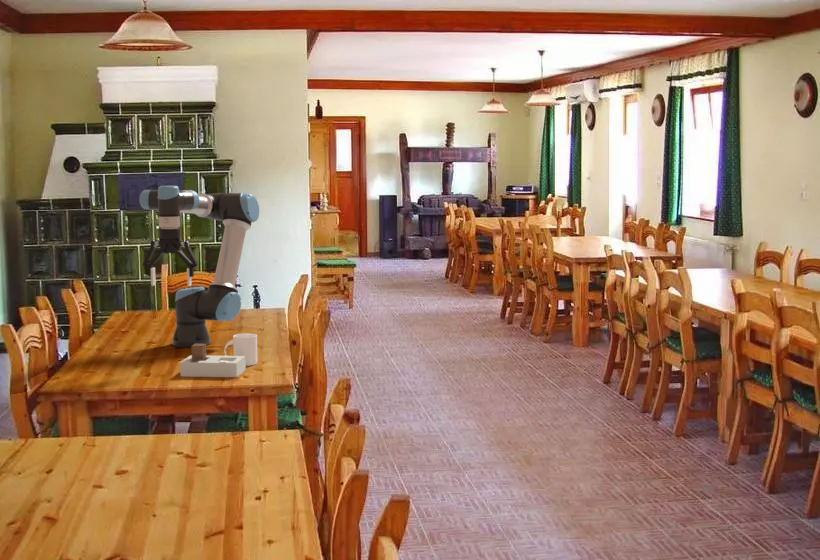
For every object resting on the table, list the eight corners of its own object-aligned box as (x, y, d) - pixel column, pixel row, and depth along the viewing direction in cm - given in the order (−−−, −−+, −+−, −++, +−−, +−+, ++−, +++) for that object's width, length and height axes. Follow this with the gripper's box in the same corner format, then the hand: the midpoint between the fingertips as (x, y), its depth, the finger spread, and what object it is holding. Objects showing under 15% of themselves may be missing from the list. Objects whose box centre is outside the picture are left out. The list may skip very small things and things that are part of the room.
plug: (195, 368, 340) (194, 343, 339) (206, 368, 340) (205, 343, 339) (192, 371, 336) (191, 345, 335) (203, 371, 336) (202, 346, 335)
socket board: (191, 368, 344) (190, 354, 344) (245, 369, 343) (245, 355, 342) (180, 376, 332) (179, 361, 332) (236, 377, 331) (236, 362, 330)
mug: (223, 362, 354) (222, 334, 353) (256, 361, 357) (255, 332, 356) (225, 367, 346) (224, 338, 345) (258, 365, 349) (258, 337, 348)
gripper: (132, 228, 347) (134, 286, 350) (199, 228, 345) (201, 287, 347) (140, 227, 354) (142, 283, 357) (205, 227, 352) (207, 284, 355)
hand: (171, 285), depth 352 cm, fingers open, 13 cm apart
